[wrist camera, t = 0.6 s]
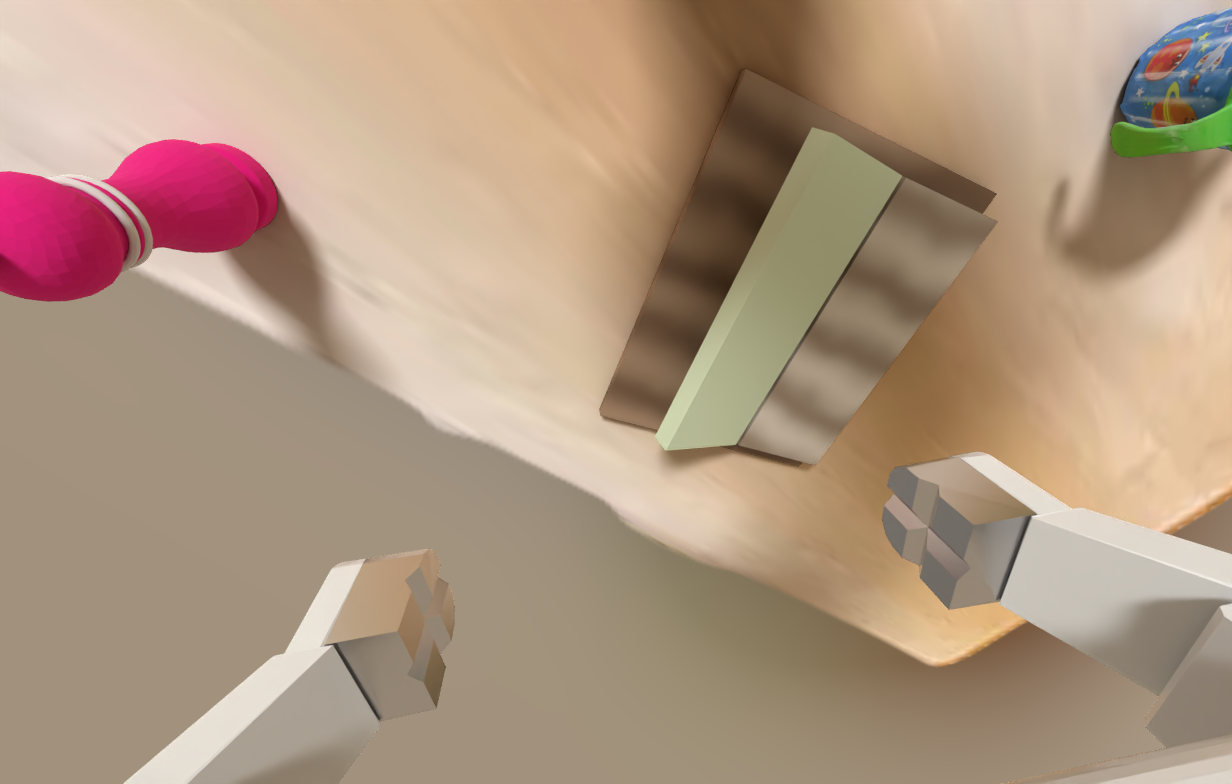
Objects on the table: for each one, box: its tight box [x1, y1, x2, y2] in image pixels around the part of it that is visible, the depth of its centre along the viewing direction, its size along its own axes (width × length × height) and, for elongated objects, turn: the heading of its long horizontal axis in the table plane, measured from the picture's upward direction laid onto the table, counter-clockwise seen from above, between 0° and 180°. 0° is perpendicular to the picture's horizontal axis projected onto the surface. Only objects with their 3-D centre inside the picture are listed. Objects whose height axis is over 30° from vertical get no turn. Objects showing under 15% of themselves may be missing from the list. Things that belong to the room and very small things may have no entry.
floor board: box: [600, 69, 998, 467], centre depth 44 cm, size 32×25×3 cm
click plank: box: [655, 127, 902, 451], centre depth 41 cm, size 28×10×2 cm, turn 160°
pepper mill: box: [0, 139, 278, 301], centre depth 28 cm, size 7×7×20 cm
